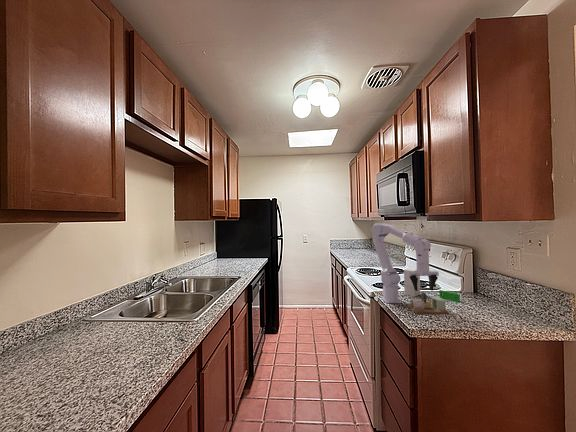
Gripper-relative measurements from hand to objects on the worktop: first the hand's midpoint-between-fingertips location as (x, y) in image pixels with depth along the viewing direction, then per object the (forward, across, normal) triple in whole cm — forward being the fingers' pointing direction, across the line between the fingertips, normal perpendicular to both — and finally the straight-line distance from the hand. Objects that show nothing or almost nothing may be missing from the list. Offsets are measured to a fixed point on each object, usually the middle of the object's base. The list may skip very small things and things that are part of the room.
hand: (423, 290), depth 138 cm
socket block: (+9, +7, 0) cm, 11 cm away
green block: (+10, +22, +17) cm, 30 cm away
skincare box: (+10, +6, +28) cm, 30 cm away
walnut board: (+10, +1, 0) cm, 10 cm away
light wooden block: (+8, -1, 0) cm, 8 cm away
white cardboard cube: (+9, -3, 0) cm, 9 cm away
